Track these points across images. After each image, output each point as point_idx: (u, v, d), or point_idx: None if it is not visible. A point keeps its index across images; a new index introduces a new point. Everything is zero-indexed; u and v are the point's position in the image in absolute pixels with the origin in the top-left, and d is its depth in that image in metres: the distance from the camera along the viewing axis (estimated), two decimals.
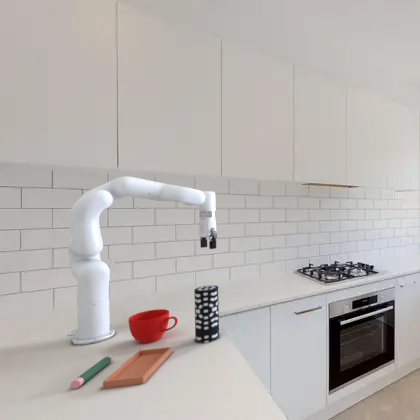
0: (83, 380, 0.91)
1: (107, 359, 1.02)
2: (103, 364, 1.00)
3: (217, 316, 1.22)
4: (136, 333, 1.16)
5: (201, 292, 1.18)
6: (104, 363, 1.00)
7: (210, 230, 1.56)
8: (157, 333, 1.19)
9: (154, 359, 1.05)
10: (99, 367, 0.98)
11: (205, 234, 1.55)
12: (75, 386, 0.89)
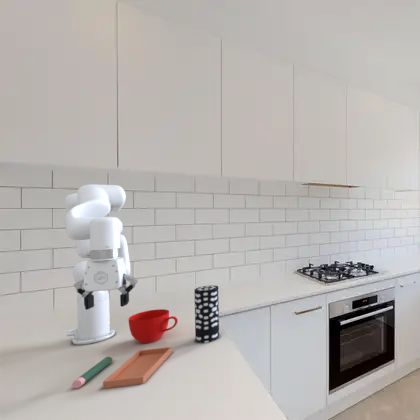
0: (84, 381, 0.91)
1: (109, 359, 1.02)
2: (104, 365, 1.00)
3: (217, 316, 1.22)
4: (136, 333, 1.16)
5: (201, 292, 1.18)
6: (105, 364, 1.00)
7: (122, 277, 1.02)
8: (157, 333, 1.19)
9: (154, 359, 1.05)
10: (100, 368, 0.98)
11: (113, 285, 1.00)
12: (76, 386, 0.89)
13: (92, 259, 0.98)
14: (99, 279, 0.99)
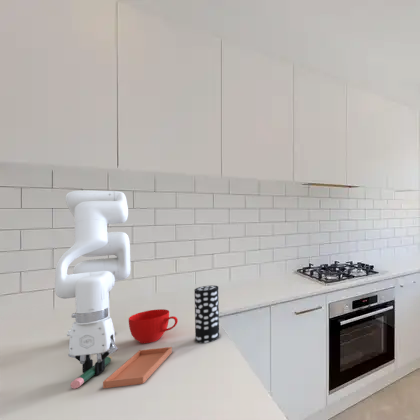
0: (83, 380, 0.91)
1: (107, 359, 1.02)
2: None
3: (217, 316, 1.22)
4: (136, 333, 1.16)
5: (201, 292, 1.18)
6: None
7: None
8: (157, 333, 1.19)
9: (154, 359, 1.05)
10: None
11: (99, 349, 0.95)
12: (75, 386, 0.89)
13: (77, 322, 0.93)
14: (85, 343, 0.94)
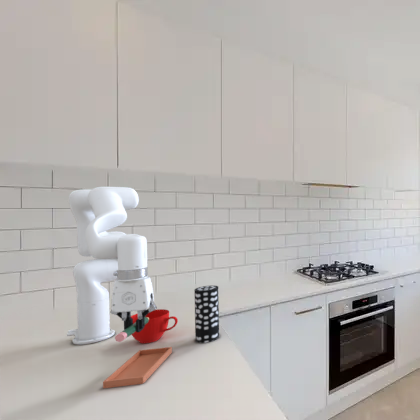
0: (126, 335, 0.93)
1: (146, 319, 1.05)
2: None
3: (217, 316, 1.22)
4: (136, 333, 1.16)
5: (201, 292, 1.18)
6: None
7: None
8: (157, 333, 1.19)
9: (154, 359, 1.05)
10: None
11: (141, 306, 0.97)
12: (119, 339, 0.91)
13: (120, 279, 0.96)
14: (127, 300, 0.96)
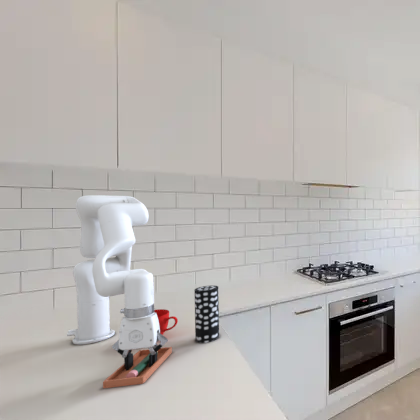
0: (136, 375, 0.94)
1: None
2: None
3: (217, 316, 1.22)
4: None
5: (201, 292, 1.18)
6: None
7: (156, 337, 1.00)
8: None
9: None
10: None
11: (147, 343, 0.98)
12: None
13: (127, 318, 0.96)
14: (134, 337, 0.97)
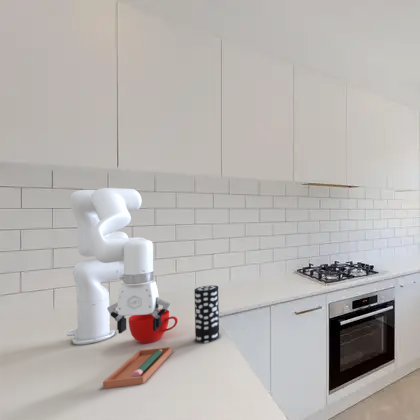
0: None
1: None
2: None
3: (217, 316, 1.22)
4: (136, 333, 1.16)
5: (201, 292, 1.18)
6: None
7: (155, 301, 1.00)
8: (157, 333, 1.19)
9: None
10: None
11: (146, 310, 0.98)
12: (133, 375, 0.92)
13: (126, 283, 0.96)
14: (132, 303, 0.97)
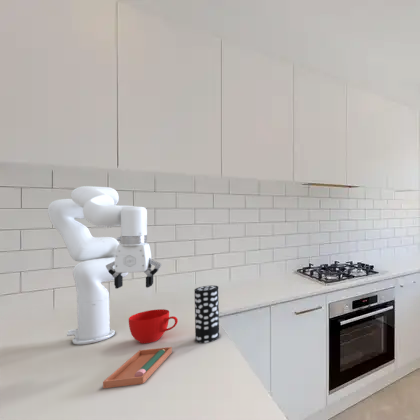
0: None
1: None
2: None
3: (217, 316, 1.22)
4: (136, 333, 1.16)
5: (201, 292, 1.18)
6: None
7: (148, 261, 1.12)
8: (157, 333, 1.19)
9: None
10: None
11: (140, 268, 1.10)
12: (137, 373, 0.92)
13: (122, 244, 1.09)
14: (128, 262, 1.10)
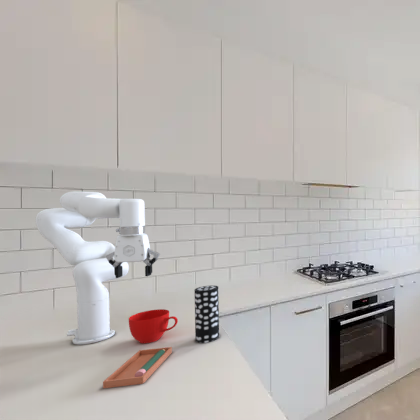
0: None
1: None
2: None
3: (217, 316, 1.22)
4: (136, 333, 1.16)
5: (201, 292, 1.18)
6: None
7: (147, 251, 1.17)
8: (157, 333, 1.19)
9: None
10: None
11: (139, 257, 1.15)
12: (137, 373, 0.92)
13: (121, 234, 1.13)
14: (127, 252, 1.14)
